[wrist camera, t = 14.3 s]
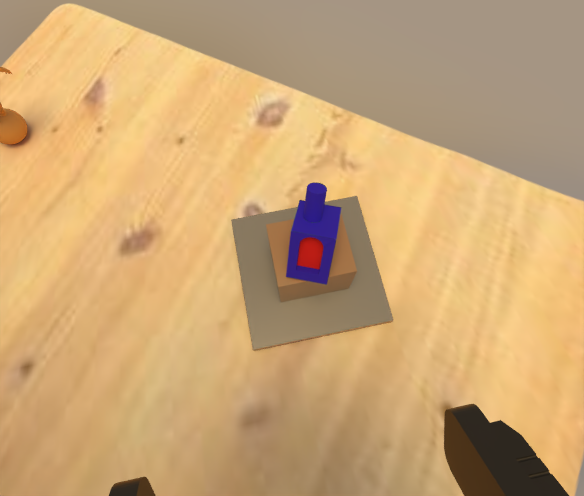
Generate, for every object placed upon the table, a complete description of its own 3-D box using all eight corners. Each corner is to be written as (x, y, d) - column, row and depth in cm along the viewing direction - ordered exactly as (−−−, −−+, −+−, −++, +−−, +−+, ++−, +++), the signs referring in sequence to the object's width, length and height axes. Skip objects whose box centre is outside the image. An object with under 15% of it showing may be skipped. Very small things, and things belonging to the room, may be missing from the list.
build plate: (254, 350, 40) (245, 341, 33) (232, 223, 44) (221, 193, 38) (391, 322, 41) (409, 307, 34) (355, 200, 45) (365, 166, 39)
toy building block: (332, 252, 37) (347, 179, 32) (326, 285, 34) (342, 210, 29) (294, 245, 38) (303, 171, 32) (285, 277, 35) (293, 201, 29)
